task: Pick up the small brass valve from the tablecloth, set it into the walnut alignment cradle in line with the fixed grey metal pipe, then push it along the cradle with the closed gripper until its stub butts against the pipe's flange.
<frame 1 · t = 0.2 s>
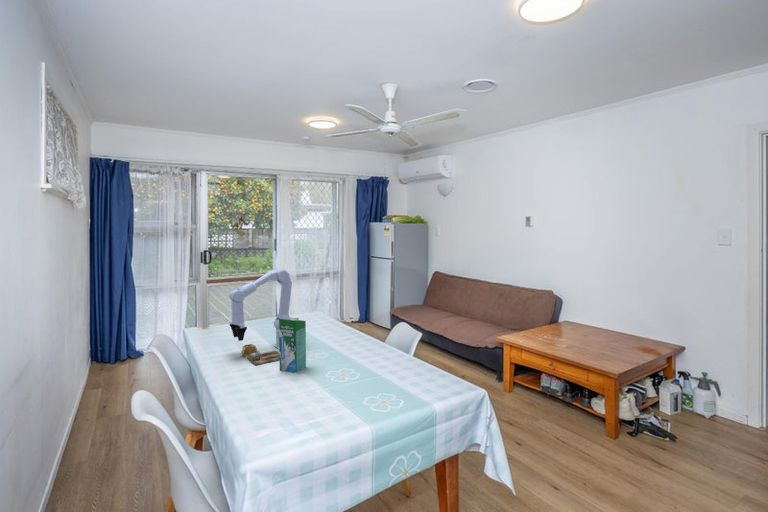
hand: (238, 338, 206), 9 cm above the table, fingers open, 7 cm apart
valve: (249, 355, 208), on the table
milk carton: (293, 368, 190), on the table
pipe board: (266, 359, 203), on the table
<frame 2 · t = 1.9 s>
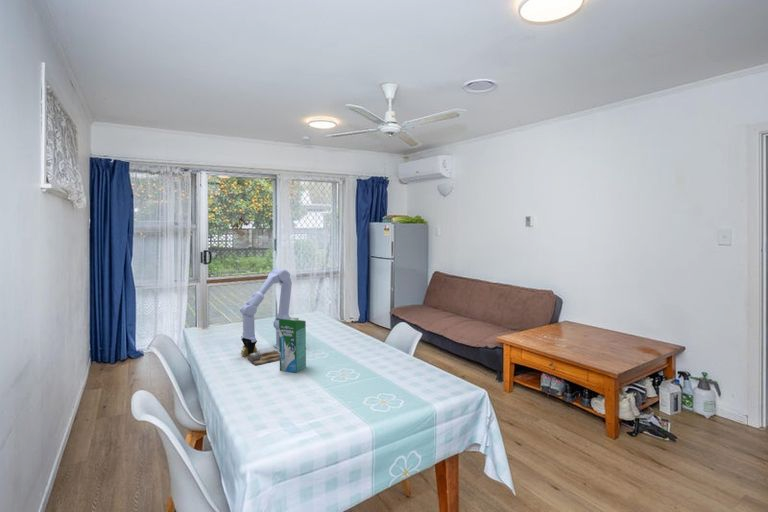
hand: (249, 352, 208), 2 cm above the table, fingers closed on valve, 4 cm apart
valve: (249, 355, 208), on the table, touching gripper
everything else where it was.
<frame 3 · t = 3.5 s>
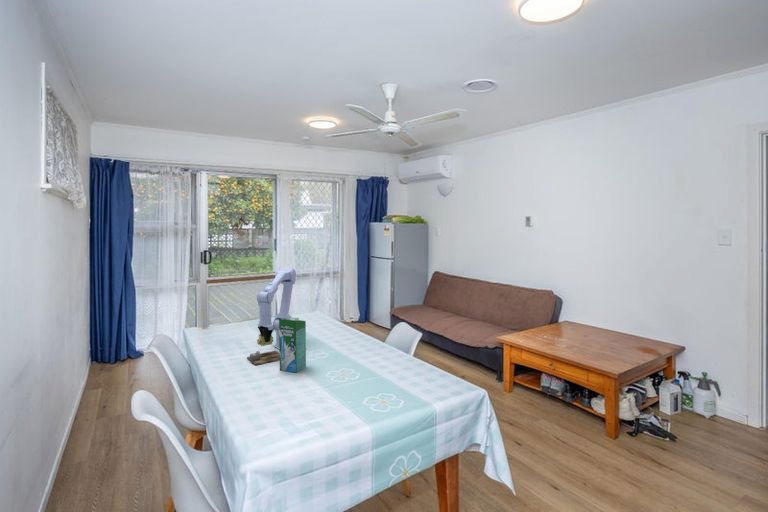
hand: (265, 340, 204), 9 cm above the table, fingers closed on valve, 4 cm apart
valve: (265, 344, 204), point 7 cm above the table, touching gripper
everything else where it was.
when the fingers open (4 cm above the table, at t = 5.2 s): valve stays where it is, resting on pipe board.
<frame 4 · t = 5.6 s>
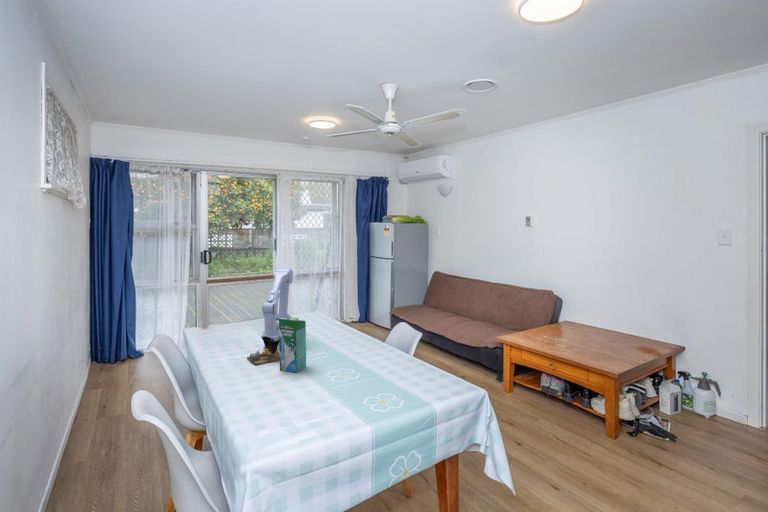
hand: (270, 351, 204), 4 cm above the table, fingers open, 7 cm apart
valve: (270, 356, 204), point 1 cm above the table, touching pipe board
everything else where it was.
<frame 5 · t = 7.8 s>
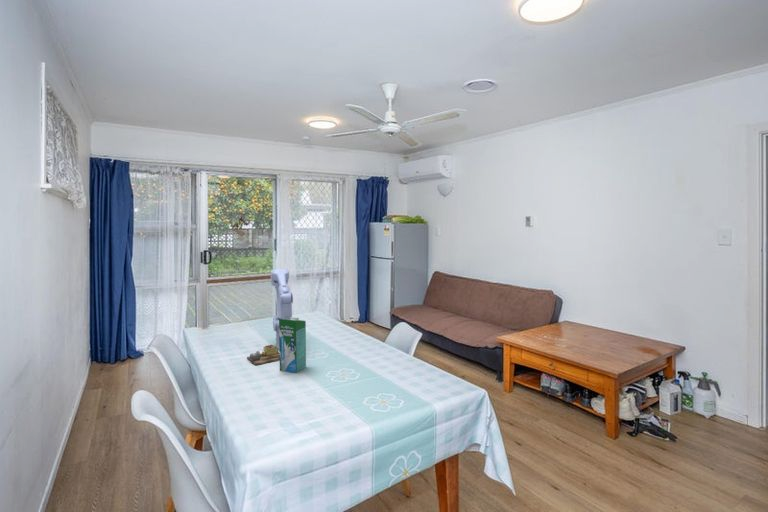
hand: (286, 341, 209), 7 cm above the table, fingers closed
nothing on the table moved.
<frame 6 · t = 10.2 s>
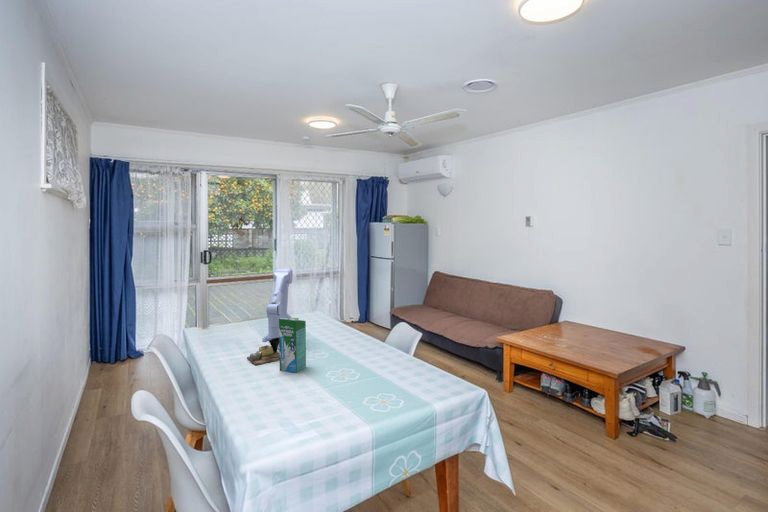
hand: (274, 352, 205), 3 cm above the table, fingers closed, pressing on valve
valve: (266, 357, 203), point 1 cm above the table, touching gripper, pipe board
everything else where it was.
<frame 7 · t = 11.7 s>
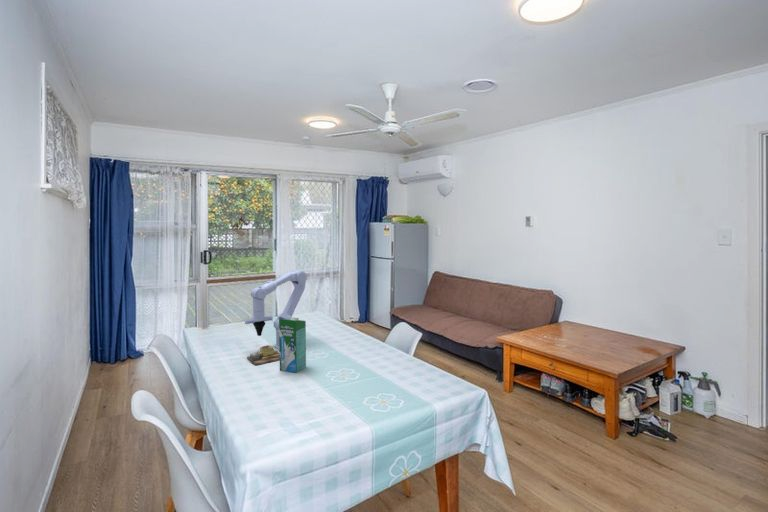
hand: (259, 335, 212), 9 cm above the table, fingers closed
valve: (266, 356, 203), point 1 cm above the table, touching pipe board
everything else where it was.
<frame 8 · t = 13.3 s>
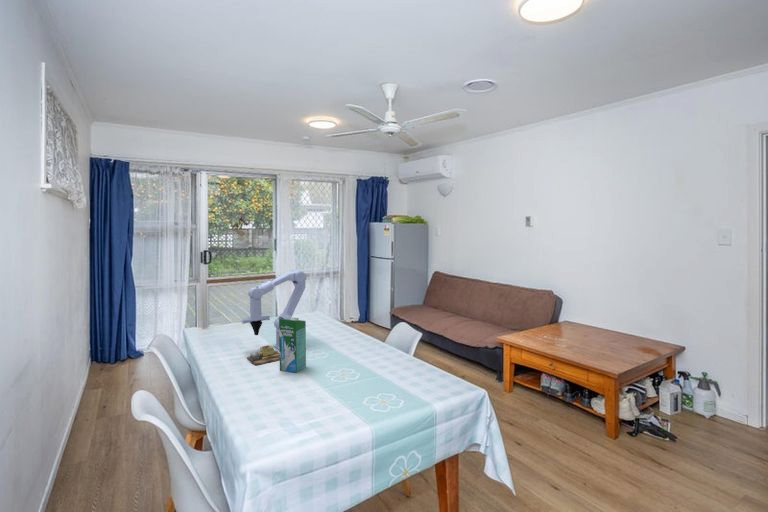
hand: (256, 334, 213), 9 cm above the table, fingers closed
nothing on the table moved.
at the end: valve 0.1 cm off-centre on the pipe board, point 1.0 cm above the pipe board's base; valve tilted 0°; the gripper is holding nothing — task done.
